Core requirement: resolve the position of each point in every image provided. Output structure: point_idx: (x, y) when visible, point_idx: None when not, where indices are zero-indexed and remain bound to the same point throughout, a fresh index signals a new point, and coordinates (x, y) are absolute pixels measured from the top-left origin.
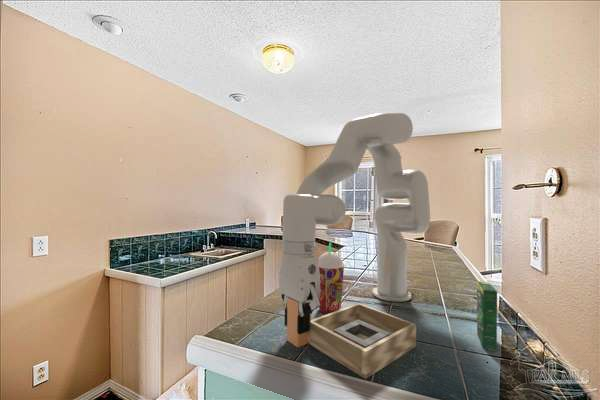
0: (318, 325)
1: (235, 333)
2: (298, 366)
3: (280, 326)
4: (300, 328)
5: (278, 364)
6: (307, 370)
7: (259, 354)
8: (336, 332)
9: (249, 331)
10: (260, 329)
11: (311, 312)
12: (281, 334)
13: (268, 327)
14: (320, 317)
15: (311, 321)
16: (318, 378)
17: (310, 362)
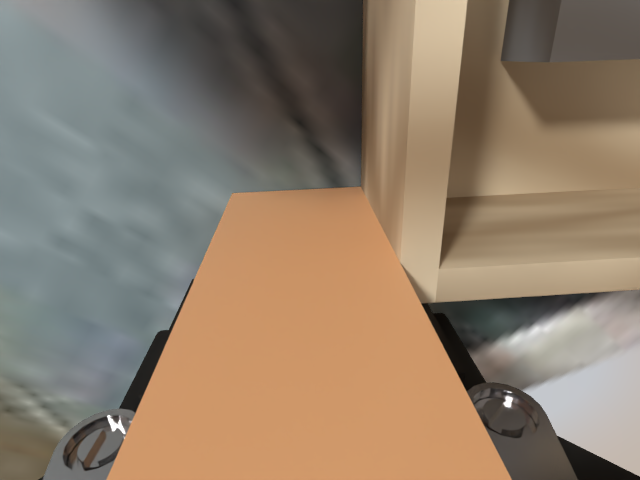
0: (544, 282)
1: (23, 471)
2: (491, 372)
3: (25, 237)
4: None
5: None
6: (543, 358)
7: None
8: (591, 59)
9: (26, 416)
10: (23, 361)
11: (538, 416)
12: (155, 290)
13: (10, 312)
14: (429, 133)
15: (428, 282)
16: (616, 352)
17: (514, 316)
